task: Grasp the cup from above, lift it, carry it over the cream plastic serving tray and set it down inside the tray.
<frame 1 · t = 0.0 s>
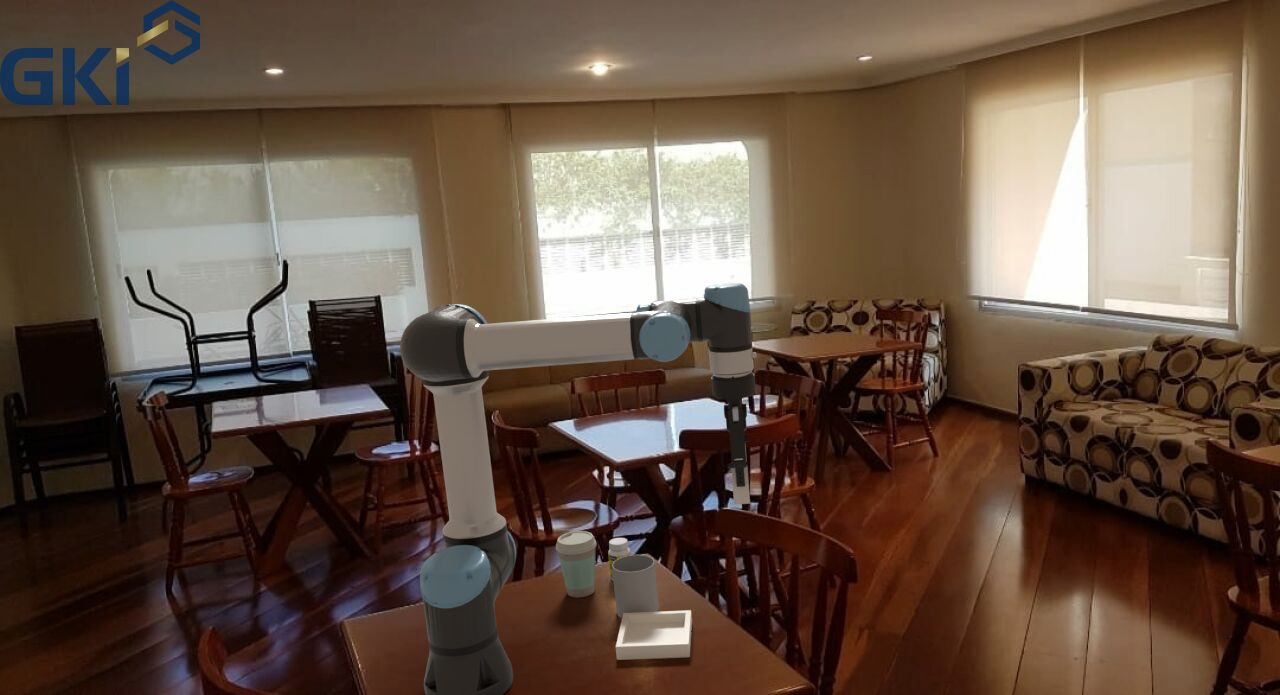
hand: (741, 490, 160), 28 cm above the table, fingers open, 13 cm apart
supplement bottle: (621, 578, 196), on the table
coffee cup: (581, 592, 191), on the table
tray: (655, 640, 167), on the table
cup: (637, 611, 180), on the table
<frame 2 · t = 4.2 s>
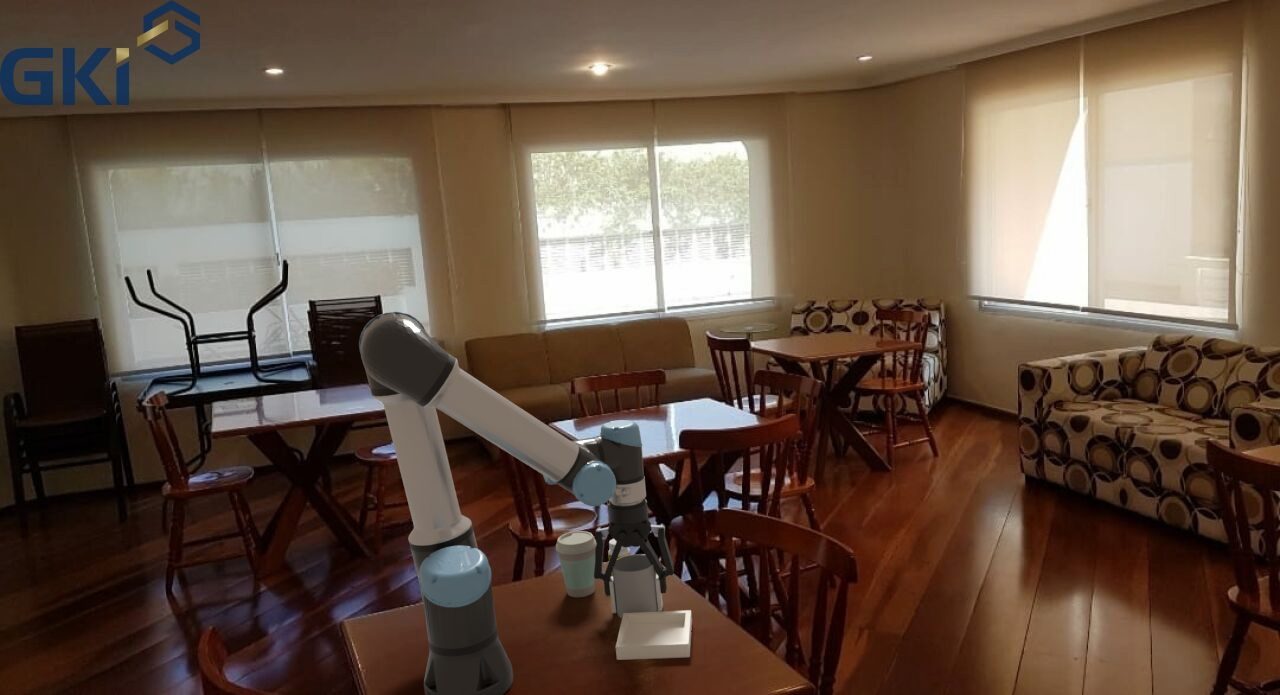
hand: (637, 608, 179), 0 cm above the table, fingers closed on cup, 8 cm apart
cup: (638, 611, 180), on the table, touching gripper
everything else where it was.
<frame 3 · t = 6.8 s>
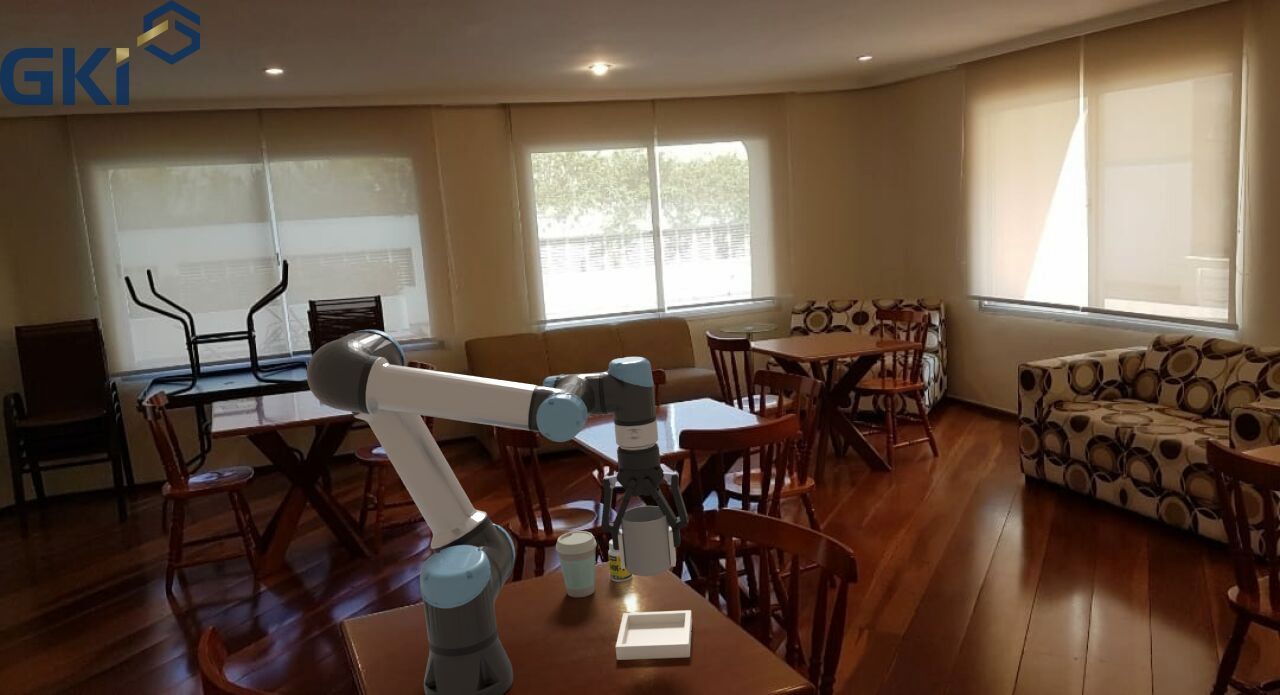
hand: (648, 564, 164), 15 cm above the table, fingers closed on cup, 8 cm apart
cup: (649, 567, 164), point 14 cm above the table, touching gripper
everything else where it was.
when the fingers open (3 cm above the table, at t = 9.8 s): cup drops 2 cm, resting on tray.
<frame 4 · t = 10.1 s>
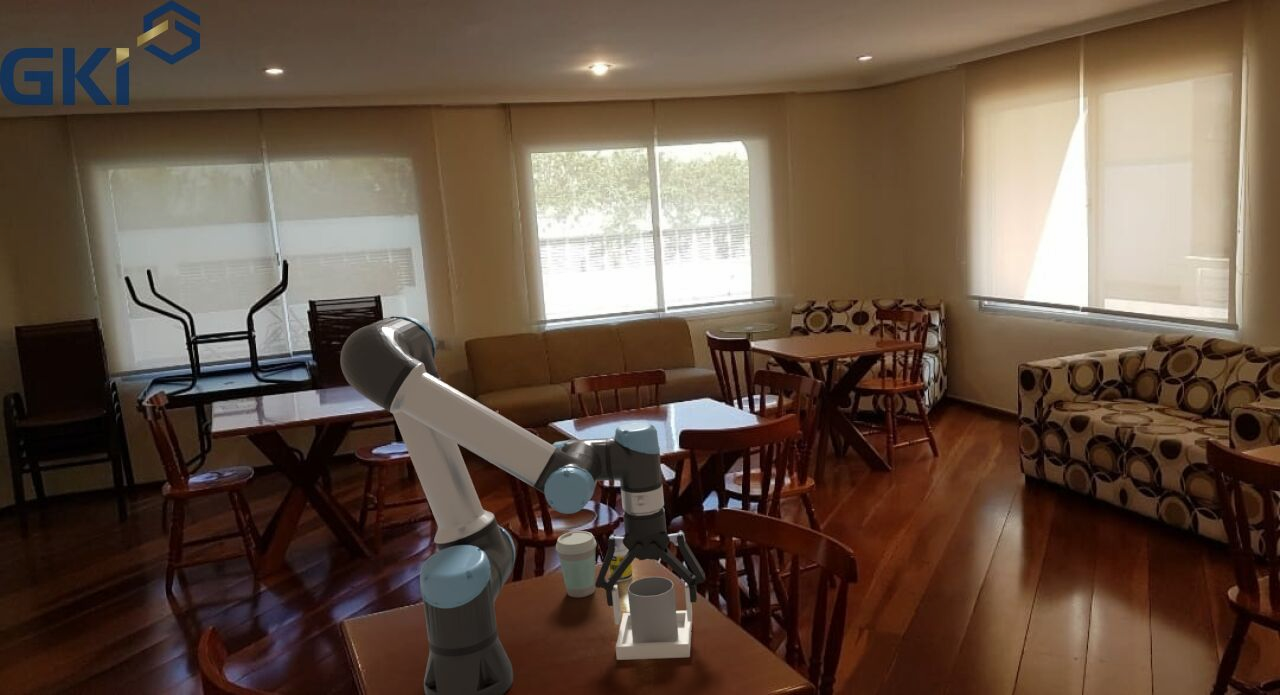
hand: (653, 619, 166), 4 cm above the table, fingers open, 13 cm apart
cup: (655, 638, 167), resting on tray
everything else where it was.
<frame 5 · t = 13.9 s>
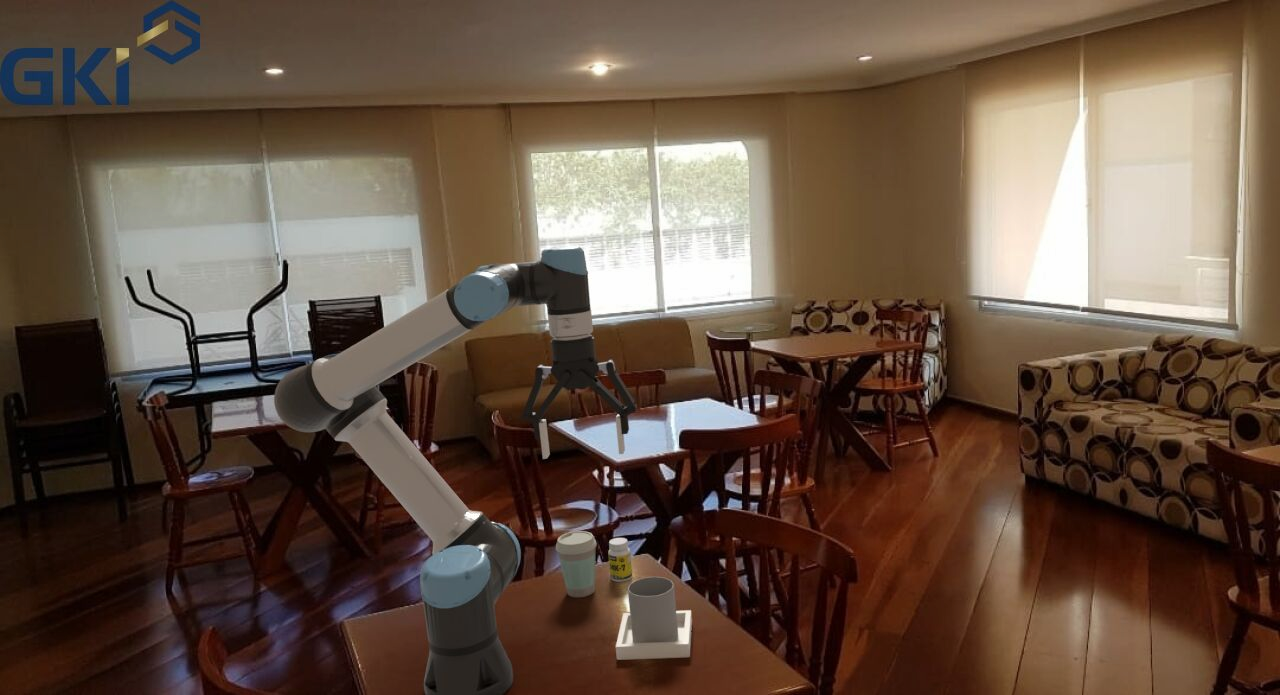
hand: (584, 454, 160), 37 cm above the table, fingers open, 13 cm apart
nothing on the table moved.
at the end: cup inside the target area on the tray (0.0 cm from its centre), point 0.4 cm above the tray's base; cup tilted 0°; the gripper is holding nothing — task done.
